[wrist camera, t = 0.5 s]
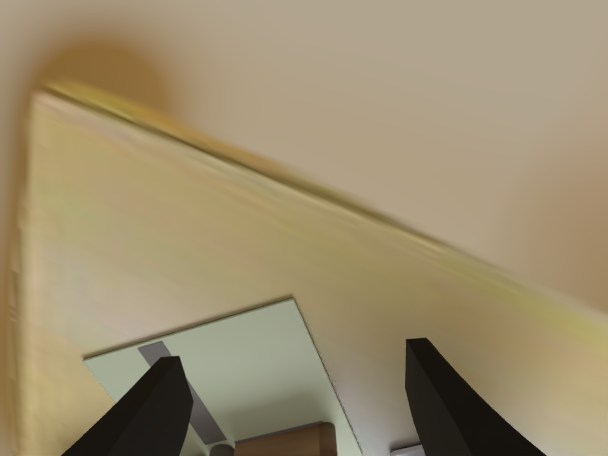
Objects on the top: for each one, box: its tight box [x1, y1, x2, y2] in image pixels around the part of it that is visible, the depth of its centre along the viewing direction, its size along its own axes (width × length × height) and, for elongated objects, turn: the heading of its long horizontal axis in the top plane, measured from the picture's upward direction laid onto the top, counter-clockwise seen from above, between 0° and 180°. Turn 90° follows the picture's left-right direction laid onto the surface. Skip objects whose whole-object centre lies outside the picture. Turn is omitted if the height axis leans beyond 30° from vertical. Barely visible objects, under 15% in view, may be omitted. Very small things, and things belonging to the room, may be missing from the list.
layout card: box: [82, 298, 363, 456], centre depth 26 cm, size 16×15×1 cm
